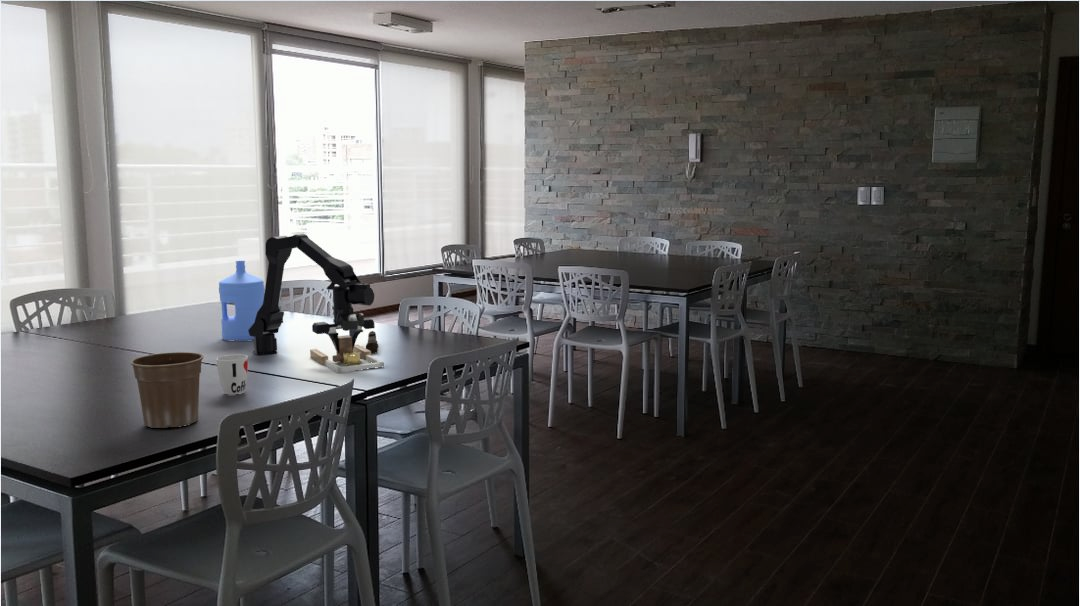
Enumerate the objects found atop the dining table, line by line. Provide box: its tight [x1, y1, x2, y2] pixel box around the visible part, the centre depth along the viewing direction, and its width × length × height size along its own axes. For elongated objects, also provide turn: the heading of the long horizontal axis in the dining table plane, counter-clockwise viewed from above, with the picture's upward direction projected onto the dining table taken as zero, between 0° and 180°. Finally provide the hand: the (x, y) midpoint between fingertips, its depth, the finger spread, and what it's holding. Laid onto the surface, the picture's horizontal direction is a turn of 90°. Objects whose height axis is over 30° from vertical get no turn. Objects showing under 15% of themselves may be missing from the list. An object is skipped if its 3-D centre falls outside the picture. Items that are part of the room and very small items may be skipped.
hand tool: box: [365, 330, 379, 354], centre depth 305 cm, size 19×4×5 cm, turn 7°
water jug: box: [218, 260, 265, 342], centre depth 323 cm, size 16×16×28 cm
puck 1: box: [342, 351, 356, 366], centre depth 281 cm, size 4×4×4 cm
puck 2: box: [346, 354, 361, 366], centre depth 278 cm, size 4×4×4 cm
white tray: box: [325, 354, 385, 374], centre depth 277 cm, size 14×13×2 cm
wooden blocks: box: [309, 344, 372, 366], centre depth 289 cm, size 16×13×2 cm
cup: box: [216, 353, 249, 396], centre depth 245 cm, size 8×8×10 cm
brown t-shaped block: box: [332, 334, 363, 363], centre depth 285 cm, size 9×6×7 cm, turn 120°
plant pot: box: [130, 351, 204, 429], centre depth 216 cm, size 16×16×16 cm
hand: (344, 352), depth 285 cm, fingers closed on brown t-shaped block, 4 cm apart
